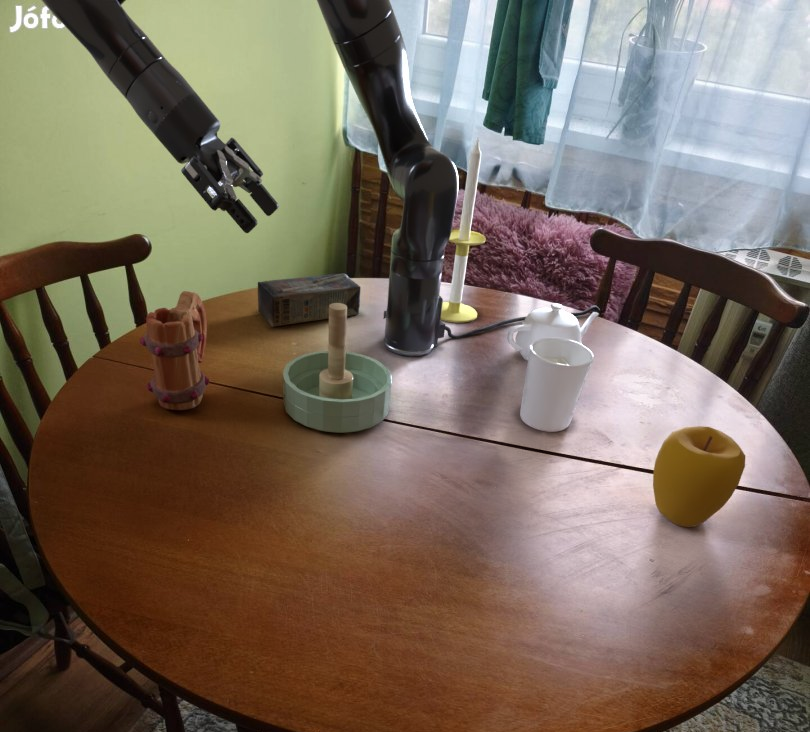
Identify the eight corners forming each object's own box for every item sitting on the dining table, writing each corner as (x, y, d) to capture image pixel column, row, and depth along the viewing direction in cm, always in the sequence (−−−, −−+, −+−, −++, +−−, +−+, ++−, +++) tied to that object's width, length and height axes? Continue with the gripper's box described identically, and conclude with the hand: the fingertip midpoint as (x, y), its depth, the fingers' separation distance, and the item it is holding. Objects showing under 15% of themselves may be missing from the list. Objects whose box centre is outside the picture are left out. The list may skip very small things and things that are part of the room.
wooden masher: (341, 393, 113) (344, 296, 102) (358, 408, 110) (363, 310, 99) (313, 400, 110) (313, 302, 100) (329, 415, 107) (331, 316, 97)
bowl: (353, 375, 119) (355, 343, 116) (408, 420, 110) (412, 386, 106) (266, 396, 111) (264, 362, 107) (317, 447, 102) (317, 411, 98)
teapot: (570, 337, 140) (583, 287, 133) (608, 364, 132) (623, 313, 125) (485, 348, 133) (495, 296, 126) (520, 378, 124) (532, 324, 118)
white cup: (538, 398, 119) (554, 331, 111) (586, 422, 114) (606, 354, 107) (503, 415, 114) (517, 347, 106) (551, 441, 109) (569, 372, 101)
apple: (644, 482, 102) (673, 405, 94) (719, 504, 100) (756, 427, 91) (633, 523, 94) (664, 444, 86) (714, 548, 92) (755, 468, 83)
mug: (192, 422, 104) (180, 326, 94) (141, 413, 104) (124, 317, 95) (230, 379, 115) (223, 289, 105) (184, 370, 115) (172, 280, 106)
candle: (482, 309, 147) (511, 136, 126) (469, 326, 140) (497, 145, 119) (438, 299, 149) (459, 127, 128) (423, 315, 142) (442, 135, 121)
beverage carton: (361, 315, 139) (363, 283, 135) (272, 329, 130) (270, 295, 126) (343, 300, 144) (344, 268, 140) (255, 313, 135) (254, 279, 131)
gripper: (165, 98, 81) (264, 216, 88) (213, 83, 92) (298, 189, 98) (130, 143, 85) (227, 253, 92) (180, 123, 96) (263, 223, 102)
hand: (263, 220), depth 95 cm, fingers open, 8 cm apart
